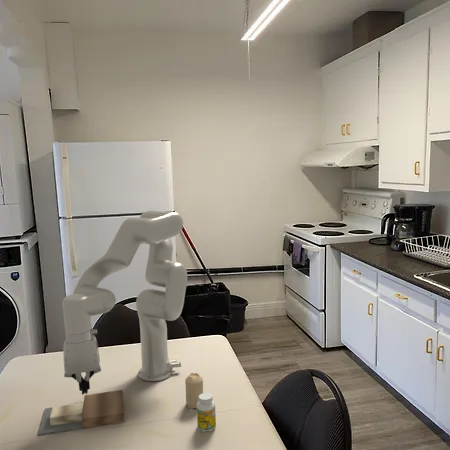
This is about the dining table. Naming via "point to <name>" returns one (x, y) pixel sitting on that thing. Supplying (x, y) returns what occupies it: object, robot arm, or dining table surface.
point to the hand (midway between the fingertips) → (84, 391)
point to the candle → (193, 389)
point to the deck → (103, 409)
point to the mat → (48, 429)
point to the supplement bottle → (206, 412)
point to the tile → (66, 414)
